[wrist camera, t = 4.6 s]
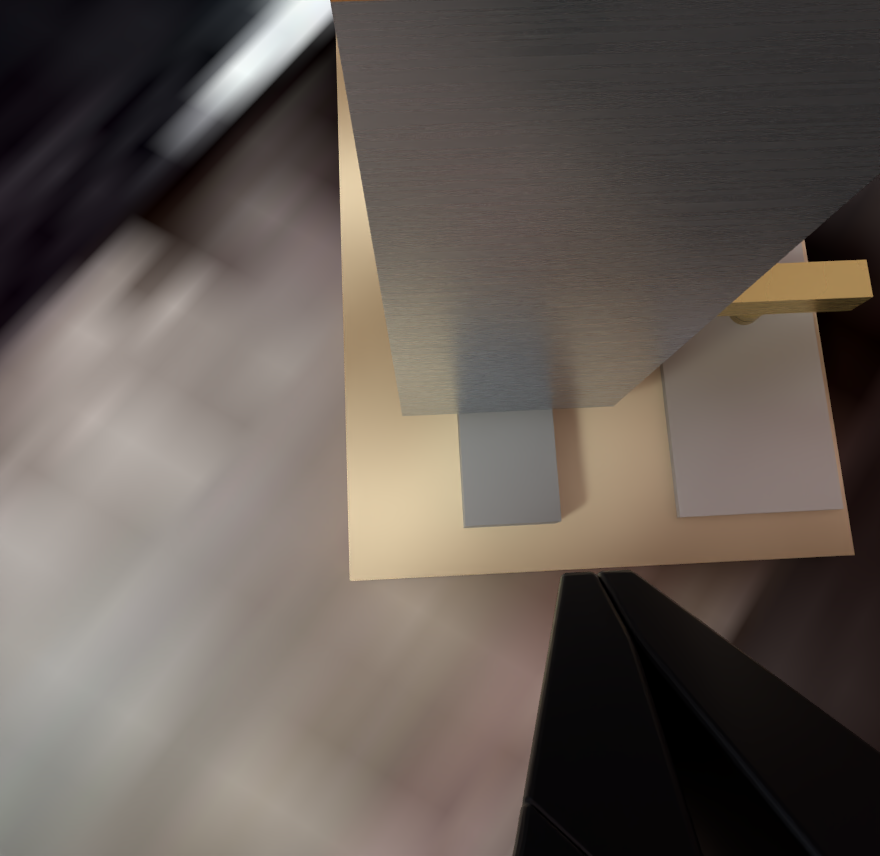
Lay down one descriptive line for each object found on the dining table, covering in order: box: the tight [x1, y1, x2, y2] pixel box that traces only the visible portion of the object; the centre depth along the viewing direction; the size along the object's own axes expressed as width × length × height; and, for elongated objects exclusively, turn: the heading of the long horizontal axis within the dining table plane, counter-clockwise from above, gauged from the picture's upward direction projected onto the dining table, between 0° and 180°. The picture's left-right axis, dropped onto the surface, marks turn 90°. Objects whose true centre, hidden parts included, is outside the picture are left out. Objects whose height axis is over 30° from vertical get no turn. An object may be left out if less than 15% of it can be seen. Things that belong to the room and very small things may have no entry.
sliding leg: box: [330, 0, 880, 416], centre depth 10 cm, size 4×10×12 cm, turn 93°
